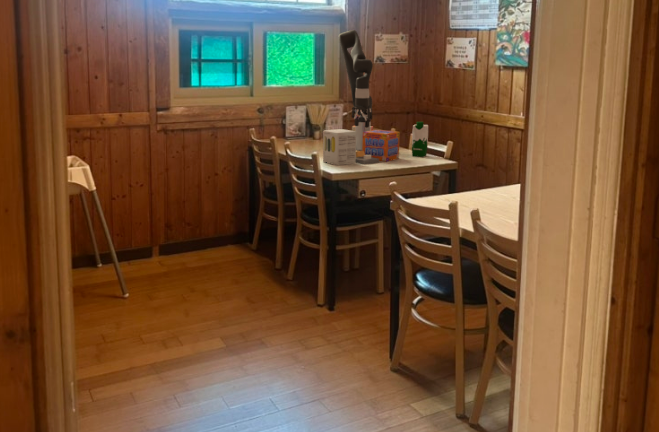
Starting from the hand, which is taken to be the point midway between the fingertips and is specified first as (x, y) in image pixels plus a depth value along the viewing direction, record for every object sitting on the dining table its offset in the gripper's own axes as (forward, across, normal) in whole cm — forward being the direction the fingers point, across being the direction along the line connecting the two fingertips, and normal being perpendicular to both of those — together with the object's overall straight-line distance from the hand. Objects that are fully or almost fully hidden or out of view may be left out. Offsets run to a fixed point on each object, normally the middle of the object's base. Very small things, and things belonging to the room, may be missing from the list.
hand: (361, 126), depth 390 cm
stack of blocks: (+20, +45, -46) cm, 67 cm away
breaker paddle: (+17, 0, 0) cm, 17 cm away
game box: (+20, 0, -15) cm, 24 cm away
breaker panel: (+19, 0, 0) cm, 19 cm away
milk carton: (+20, -5, -41) cm, 46 cm away
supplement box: (+19, +3, +13) cm, 24 cm away
